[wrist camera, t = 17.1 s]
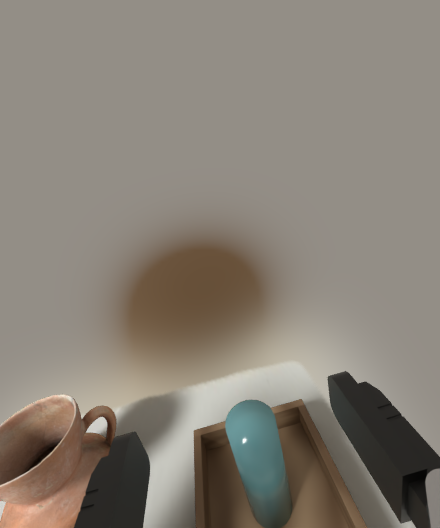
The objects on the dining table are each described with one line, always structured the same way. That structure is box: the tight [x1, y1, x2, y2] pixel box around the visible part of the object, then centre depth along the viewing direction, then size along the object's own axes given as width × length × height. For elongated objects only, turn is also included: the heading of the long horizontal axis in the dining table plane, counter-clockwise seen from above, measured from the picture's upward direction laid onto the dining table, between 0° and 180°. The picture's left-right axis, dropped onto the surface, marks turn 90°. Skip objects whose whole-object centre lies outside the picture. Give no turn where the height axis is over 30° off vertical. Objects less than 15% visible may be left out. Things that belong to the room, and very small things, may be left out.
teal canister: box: [225, 400, 293, 528], centre depth 28 cm, size 5×5×14 cm
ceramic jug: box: [0, 394, 116, 528], centre depth 35 cm, size 18×14×14 cm
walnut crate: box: [194, 399, 367, 528], centre depth 30 cm, size 17×18×4 cm
